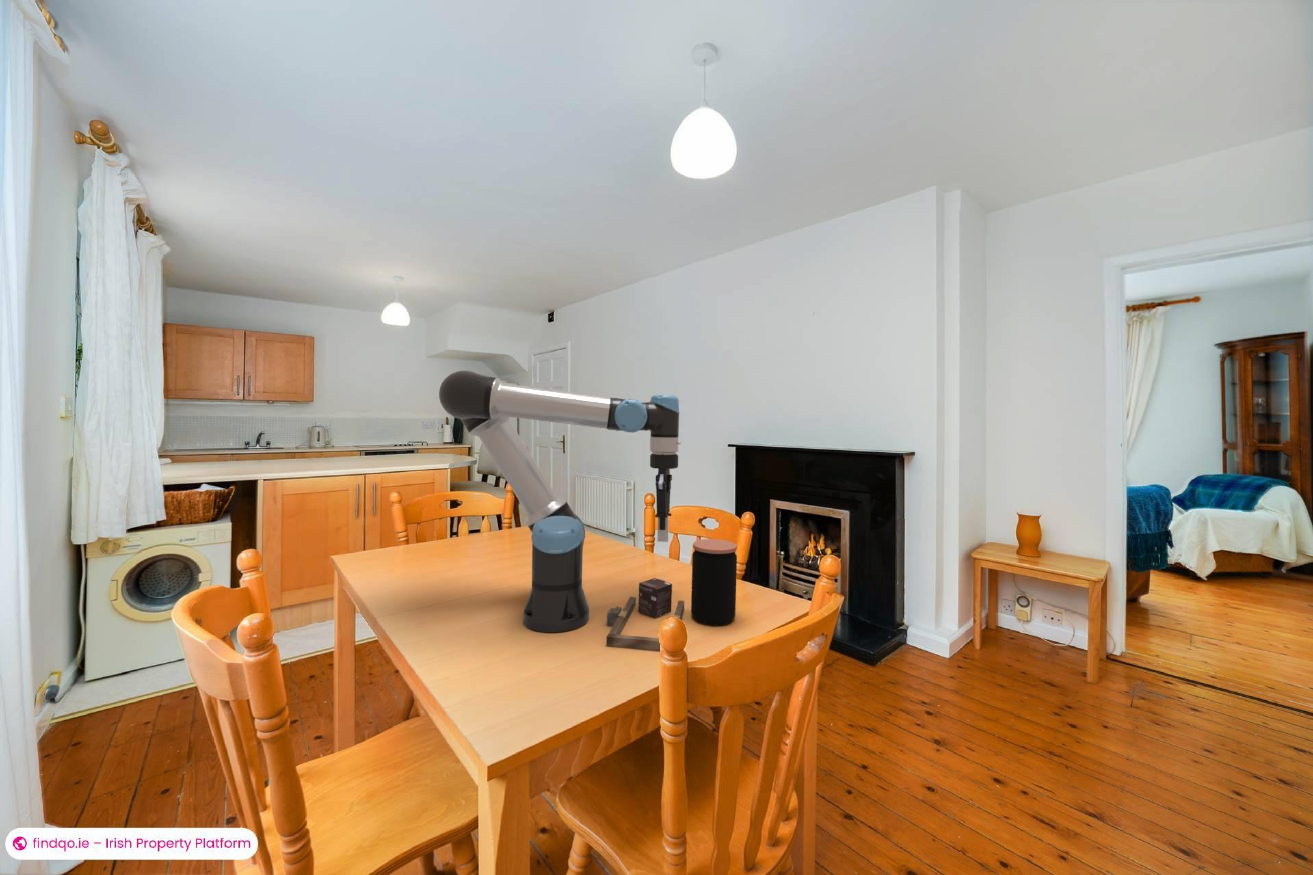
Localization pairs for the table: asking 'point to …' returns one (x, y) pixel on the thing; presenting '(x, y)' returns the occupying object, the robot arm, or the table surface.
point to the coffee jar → (714, 581)
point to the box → (655, 597)
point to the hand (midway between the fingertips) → (662, 540)
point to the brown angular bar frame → (619, 620)
